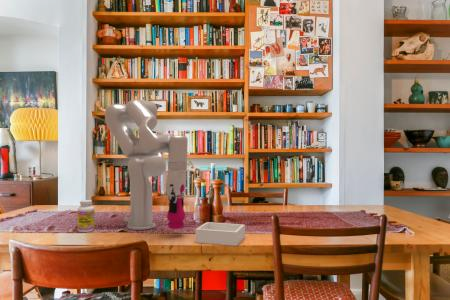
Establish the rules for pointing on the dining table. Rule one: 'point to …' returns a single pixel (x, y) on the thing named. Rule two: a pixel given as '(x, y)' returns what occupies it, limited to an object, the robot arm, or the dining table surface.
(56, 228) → the dining table surface
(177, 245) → the dining table surface
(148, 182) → the robot arm
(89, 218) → the supplement bottle
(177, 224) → the pepper mill
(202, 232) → the tote
